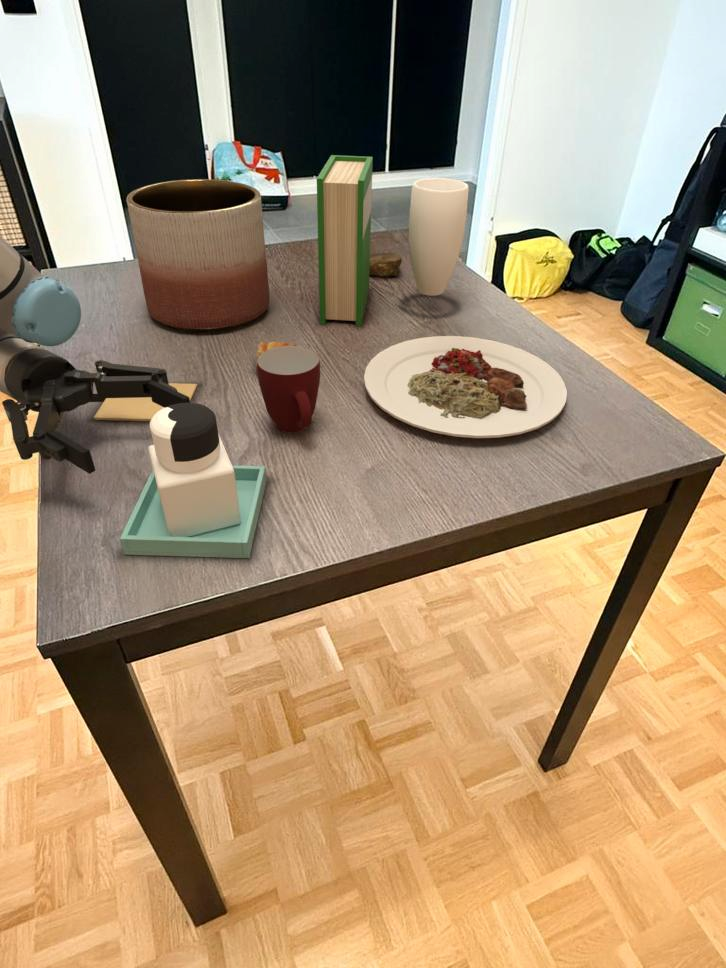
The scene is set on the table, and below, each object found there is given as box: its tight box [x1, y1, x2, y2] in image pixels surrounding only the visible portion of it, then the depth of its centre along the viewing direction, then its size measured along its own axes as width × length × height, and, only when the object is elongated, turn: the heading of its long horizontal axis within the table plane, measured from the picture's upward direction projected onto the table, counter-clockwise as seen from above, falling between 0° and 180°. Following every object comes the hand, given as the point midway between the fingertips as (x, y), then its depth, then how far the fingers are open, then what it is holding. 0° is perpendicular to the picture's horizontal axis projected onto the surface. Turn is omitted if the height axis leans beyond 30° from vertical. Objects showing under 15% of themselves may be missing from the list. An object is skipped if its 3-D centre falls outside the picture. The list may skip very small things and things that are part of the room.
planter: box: [126, 178, 270, 332], centre depth 109 cm, size 22×22×20 cm
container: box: [147, 402, 241, 537], centre depth 66 cm, size 8×8×13 cm
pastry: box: [255, 340, 297, 369], centre depth 97 cm, size 9×7×4 cm
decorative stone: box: [369, 252, 403, 279], centre depth 133 cm, size 10×9×4 cm
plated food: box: [363, 335, 568, 439], centre depth 93 cm, size 30×30×3 cm
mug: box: [256, 345, 321, 434], centre depth 82 cm, size 11×8×10 cm
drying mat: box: [93, 382, 198, 422], centre depth 89 cm, size 12×10×1 cm
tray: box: [119, 464, 268, 559], centre depth 70 cm, size 13×13×2 cm
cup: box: [408, 177, 470, 297], centre depth 112 cm, size 10×10×22 cm
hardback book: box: [316, 154, 374, 327], centre depth 111 cm, size 18×7×24 cm, turn 175°
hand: (142, 433), depth 70 cm, fingers open, 13 cm apart
